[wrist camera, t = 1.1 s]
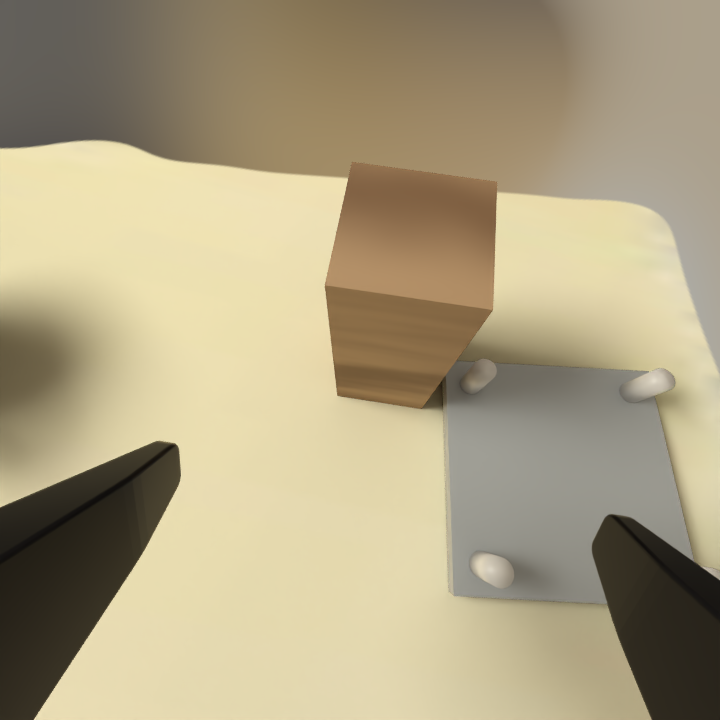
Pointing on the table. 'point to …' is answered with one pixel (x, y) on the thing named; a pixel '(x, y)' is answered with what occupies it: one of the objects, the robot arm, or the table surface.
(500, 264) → the table surface
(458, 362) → the peg stand
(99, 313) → the table surface
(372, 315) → the walnut block
